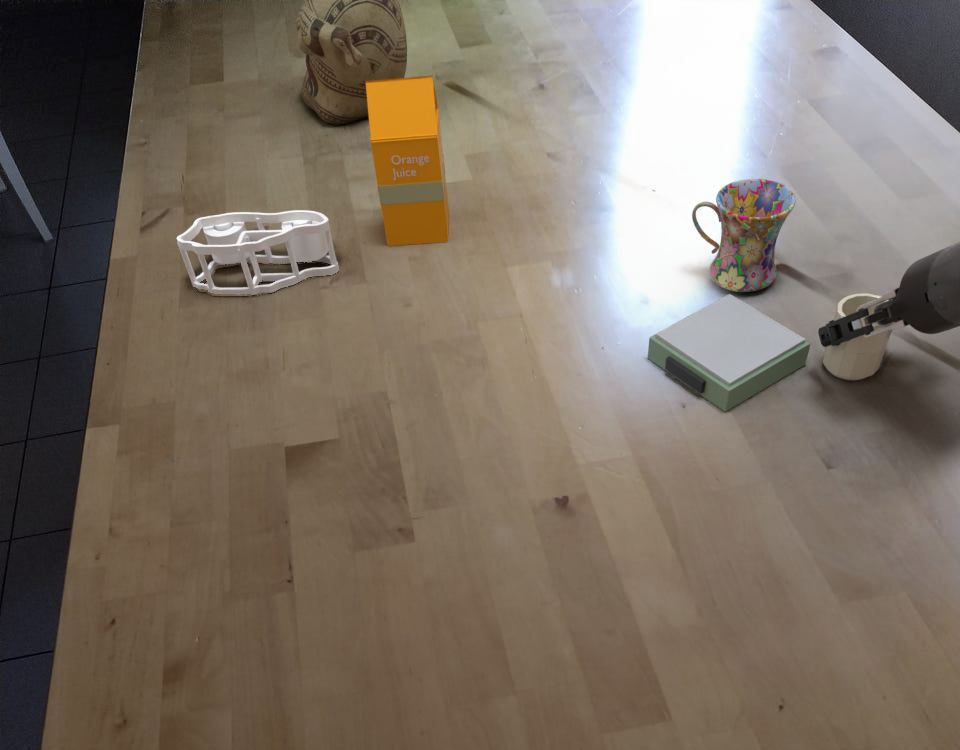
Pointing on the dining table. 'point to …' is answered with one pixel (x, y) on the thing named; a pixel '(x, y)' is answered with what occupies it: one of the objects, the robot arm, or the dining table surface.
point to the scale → (728, 351)
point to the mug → (747, 232)
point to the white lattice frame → (260, 248)
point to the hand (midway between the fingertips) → (851, 326)
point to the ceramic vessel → (349, 53)
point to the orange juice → (408, 159)
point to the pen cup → (856, 344)
